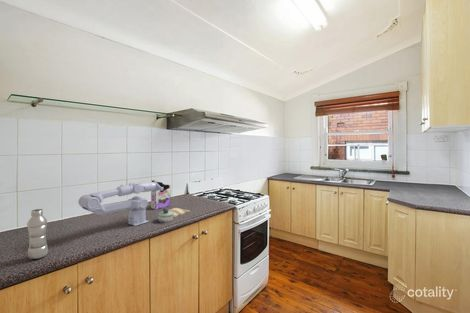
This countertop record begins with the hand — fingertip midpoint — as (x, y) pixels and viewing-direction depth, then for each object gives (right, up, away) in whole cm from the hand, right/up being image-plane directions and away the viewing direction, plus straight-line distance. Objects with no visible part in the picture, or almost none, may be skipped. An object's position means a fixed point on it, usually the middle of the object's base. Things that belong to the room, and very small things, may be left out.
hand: (165, 185), depth 154 cm
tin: (+3, -21, -11) cm, 24 cm away
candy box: (-10, -20, +20) cm, 30 cm away
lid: (+3, -17, -11) cm, 21 cm away
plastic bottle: (-35, -23, -60) cm, 73 cm away
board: (+5, -20, +5) cm, 21 cm away
